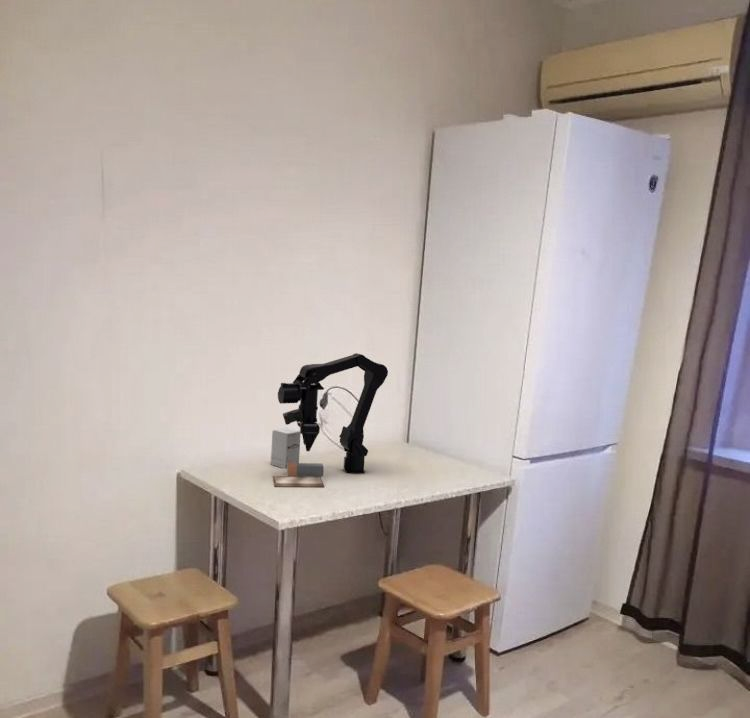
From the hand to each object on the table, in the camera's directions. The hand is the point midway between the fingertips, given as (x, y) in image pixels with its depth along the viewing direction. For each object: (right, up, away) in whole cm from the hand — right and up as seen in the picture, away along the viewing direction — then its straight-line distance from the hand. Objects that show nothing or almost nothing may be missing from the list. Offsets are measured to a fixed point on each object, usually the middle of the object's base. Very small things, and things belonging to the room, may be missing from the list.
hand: (306, 447), depth 242 cm
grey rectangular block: (-1, -9, +1) cm, 9 cm away
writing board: (-2, -10, -8) cm, 13 cm away
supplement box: (-9, -8, +12) cm, 17 cm away
